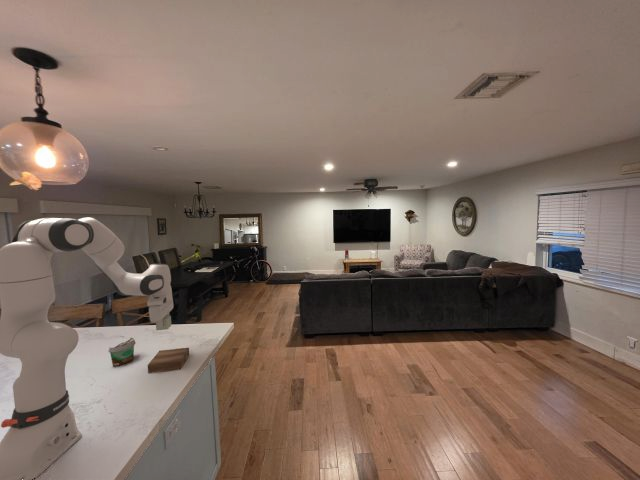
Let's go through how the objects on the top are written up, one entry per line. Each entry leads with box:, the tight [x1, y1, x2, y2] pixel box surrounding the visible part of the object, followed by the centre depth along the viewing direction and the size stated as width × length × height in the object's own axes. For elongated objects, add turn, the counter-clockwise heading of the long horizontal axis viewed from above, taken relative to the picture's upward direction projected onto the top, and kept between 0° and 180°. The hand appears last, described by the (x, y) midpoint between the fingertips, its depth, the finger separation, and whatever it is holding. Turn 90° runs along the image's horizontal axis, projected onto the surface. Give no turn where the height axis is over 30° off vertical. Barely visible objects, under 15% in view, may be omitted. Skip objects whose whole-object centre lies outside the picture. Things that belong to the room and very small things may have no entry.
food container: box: [108, 337, 136, 368], centre depth 133 cm, size 12×6×10 cm, turn 168°
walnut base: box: [147, 347, 190, 374], centre depth 130 cm, size 14×14×4 cm
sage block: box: [155, 314, 172, 332], centre depth 129 cm, size 5×5×5 cm
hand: (163, 324), depth 129 cm, fingers closed on sage block, 5 cm apart
